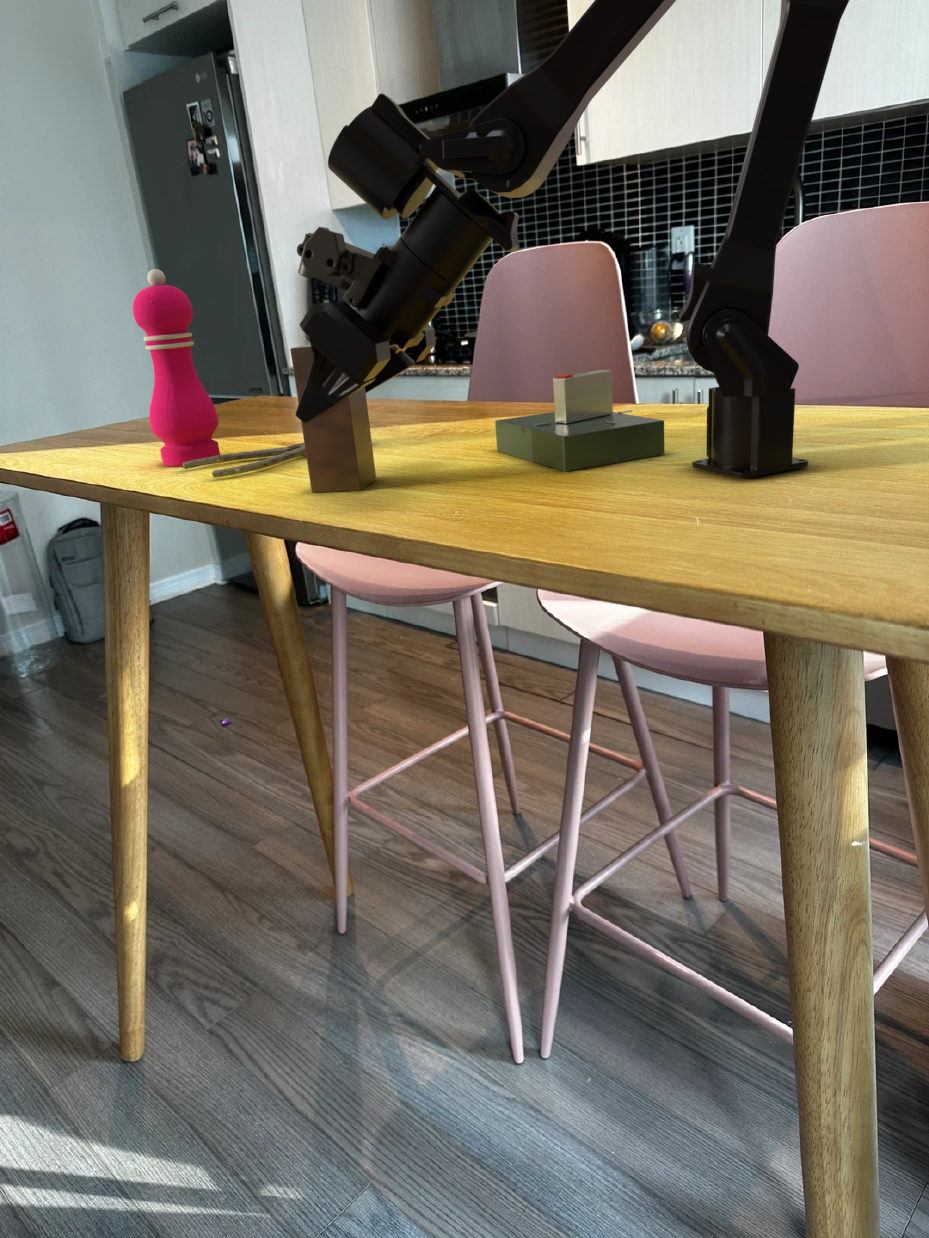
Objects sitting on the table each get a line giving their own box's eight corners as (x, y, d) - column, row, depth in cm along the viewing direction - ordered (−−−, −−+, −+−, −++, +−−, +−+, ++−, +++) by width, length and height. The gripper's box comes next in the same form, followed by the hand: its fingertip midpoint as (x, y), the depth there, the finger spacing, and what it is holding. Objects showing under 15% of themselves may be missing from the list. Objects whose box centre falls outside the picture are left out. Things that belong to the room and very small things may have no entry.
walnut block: (376, 479, 79) (359, 340, 75) (360, 490, 75) (341, 344, 71) (329, 481, 80) (310, 344, 76) (311, 492, 76) (289, 348, 72)
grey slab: (601, 413, 84) (599, 367, 83) (613, 414, 83) (611, 367, 82) (554, 423, 81) (552, 375, 80) (566, 424, 80) (564, 375, 78)
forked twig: (167, 465, 91) (317, 431, 105) (168, 473, 91) (319, 438, 105) (219, 471, 85) (372, 434, 98) (221, 480, 85) (373, 442, 99)
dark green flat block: (675, 452, 79) (674, 416, 78) (565, 471, 75) (563, 434, 74) (594, 435, 91) (593, 404, 90) (497, 451, 87) (494, 419, 86)
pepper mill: (189, 468, 94) (149, 267, 87) (144, 466, 98) (103, 273, 91) (238, 455, 99) (205, 265, 93) (194, 454, 103) (159, 271, 96)
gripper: (386, 198, 77) (289, 340, 84) (306, 178, 60) (192, 357, 67) (481, 286, 78) (378, 419, 85) (429, 290, 61) (305, 456, 68)
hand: (318, 411), depth 76 cm, fingers open, 8 cm apart
